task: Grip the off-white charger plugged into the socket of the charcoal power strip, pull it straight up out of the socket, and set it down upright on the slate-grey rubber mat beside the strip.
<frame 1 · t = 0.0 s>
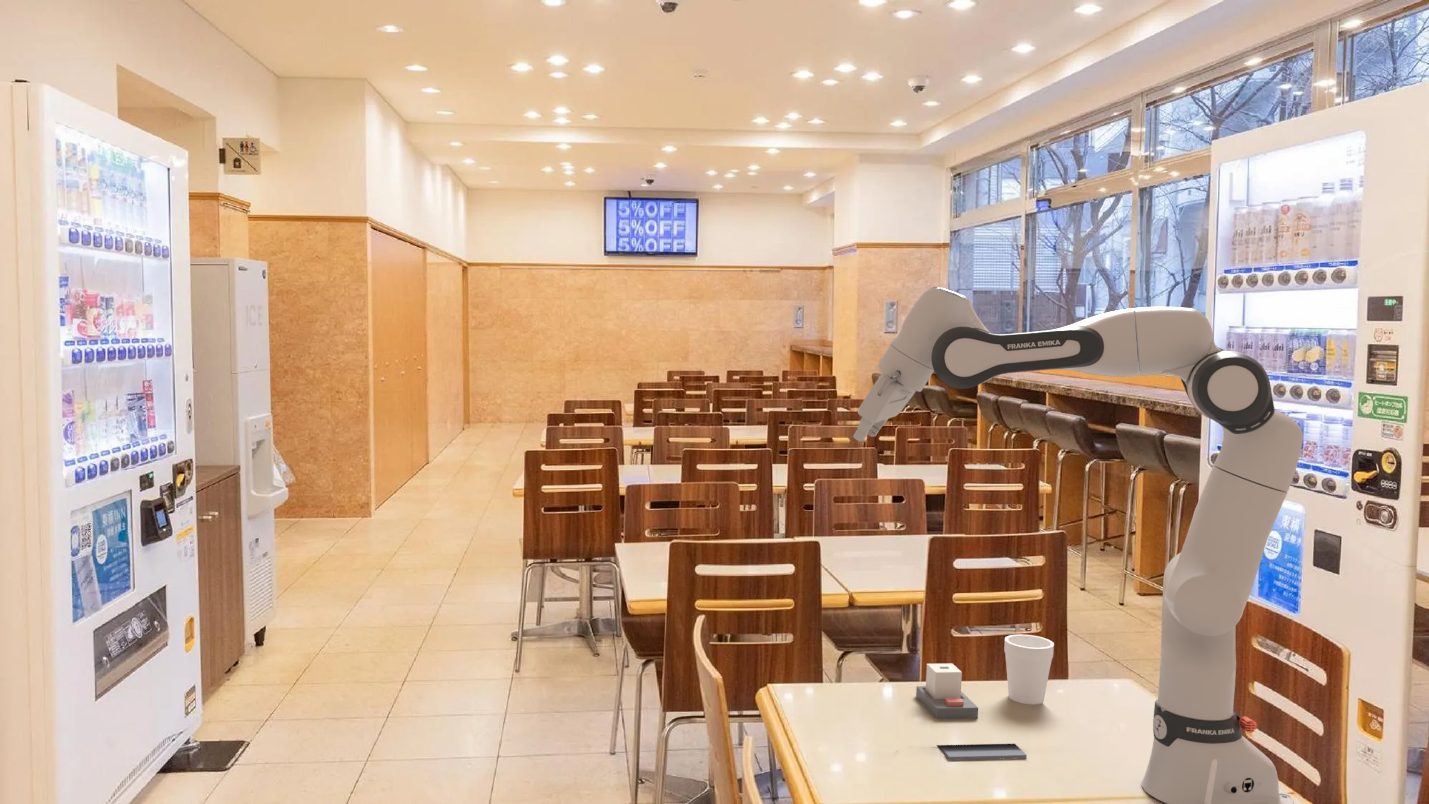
hand: (863, 437, 185), 54 cm above the table, tool tilted 30°, fingers open, 8 cm apart
power strip: (945, 714, 200), on the table
rubber mat: (974, 745, 186), on the table
charger: (942, 702, 202), point 1 cm above the table, touching power strip
foam cup: (1025, 706, 207), on the table
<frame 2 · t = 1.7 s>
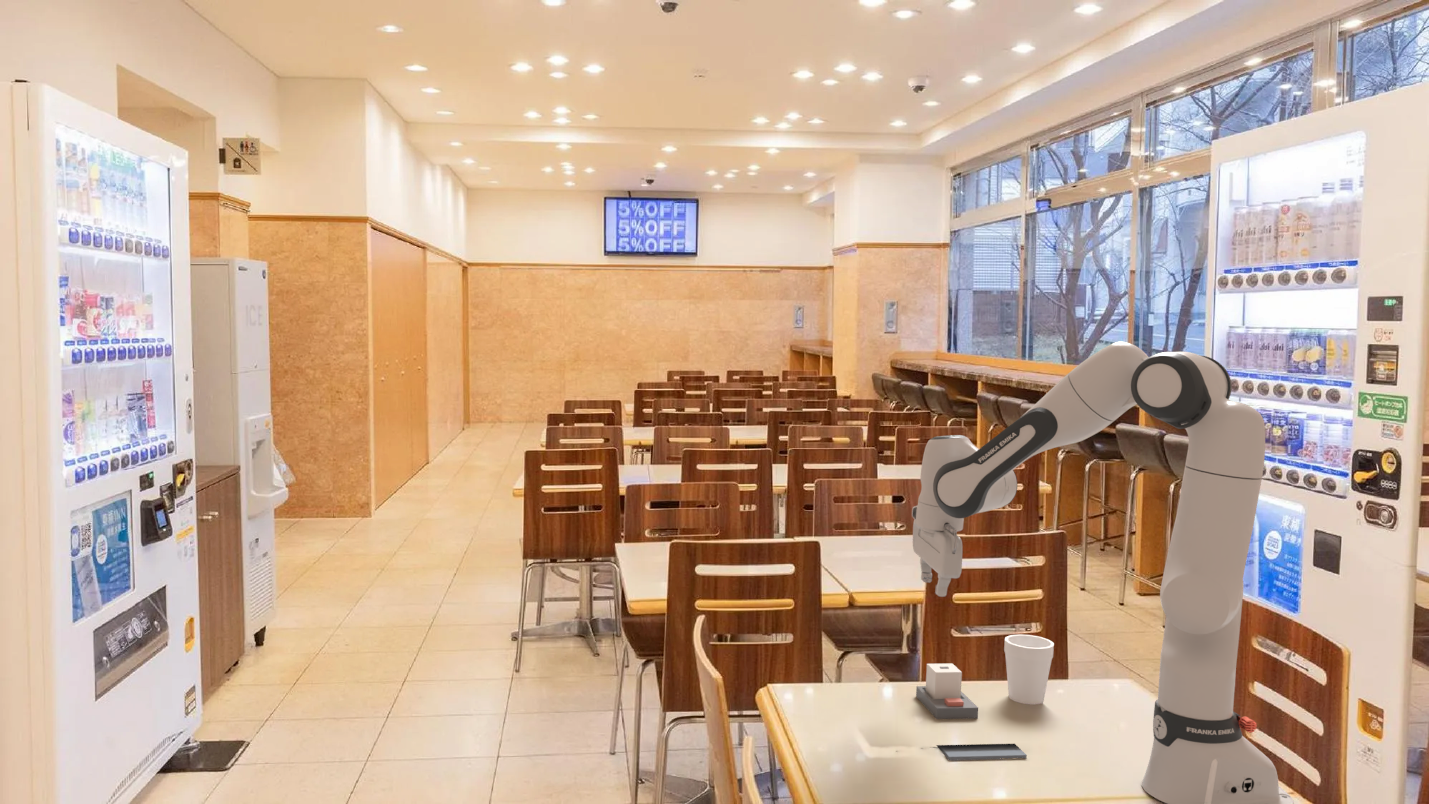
hand: (933, 588, 200), 24 cm above the table, tool pointing down, fingers open, 8 cm apart
nothing on the table moved.
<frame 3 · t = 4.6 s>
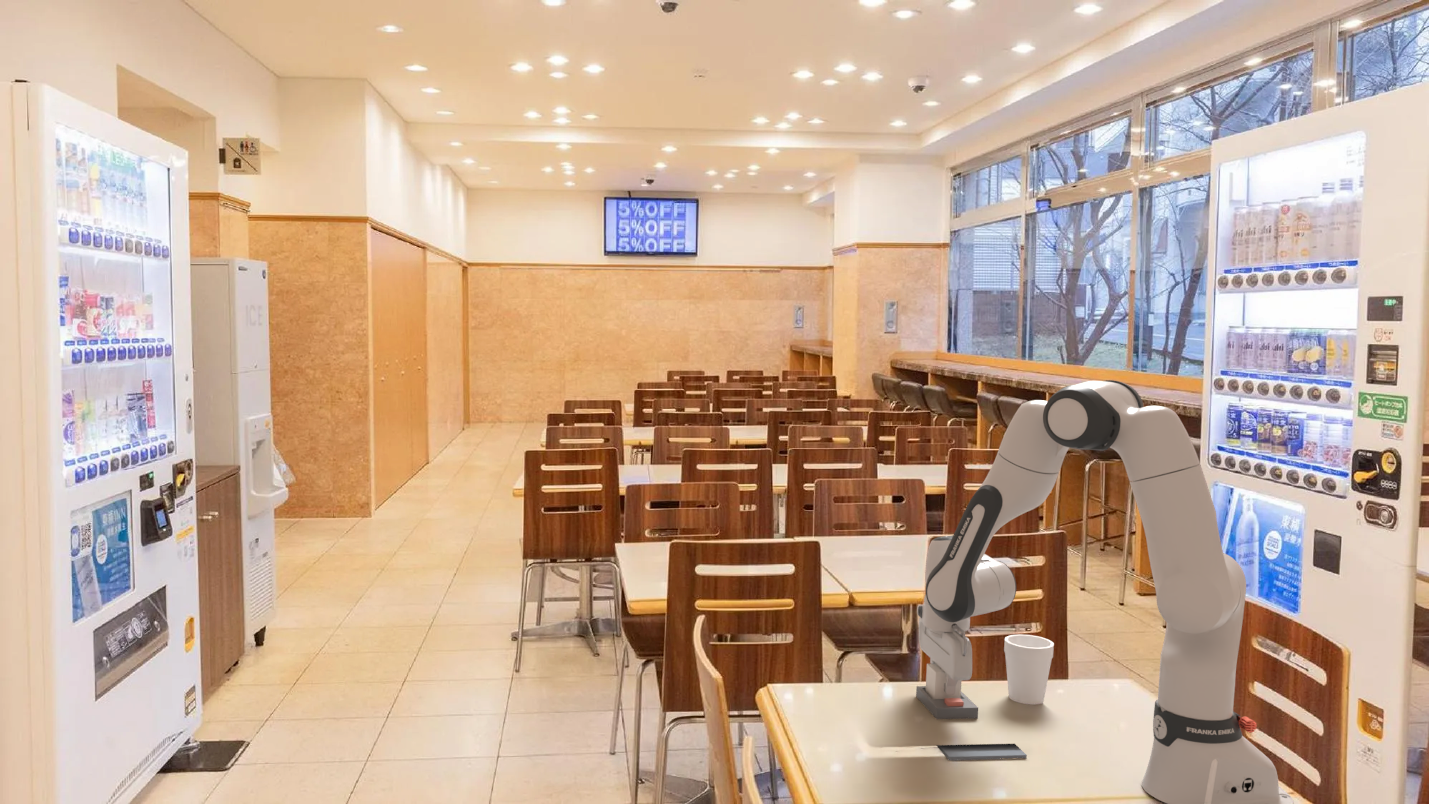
hand: (943, 687, 202), 5 cm above the table, tool pointing down, fingers closed on charger, 5 cm apart
charger: (942, 702, 202), point 2 cm above the table, touching gripper, power strip
everything else where it was.
when the fingers open (6 cm above the table, at t = 12.1 s): charger drops 2 cm, resting on rubber mat.
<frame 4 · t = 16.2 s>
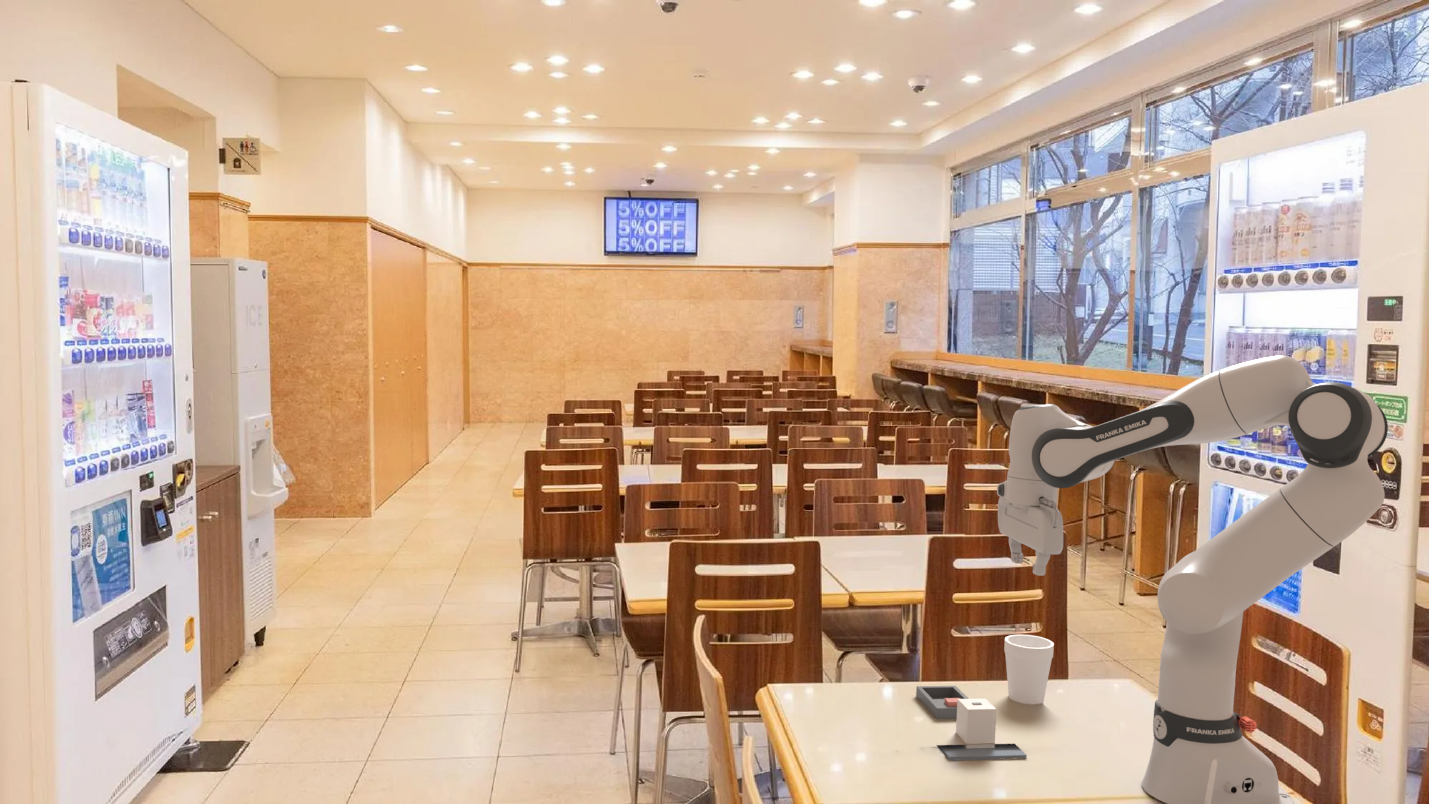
hand: (1027, 568, 189), 31 cm above the table, tool pointing down, fingers open, 8 cm apart
charger: (974, 742, 185), point 1 cm above the table, touching rubber mat
everything else where it was.
at the end: charger inside the target area on the rubber mat (0.0 cm from its centre), point 0.6 cm above the rubber mat's base; charger tilted 0°; the gripper is holding nothing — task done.
